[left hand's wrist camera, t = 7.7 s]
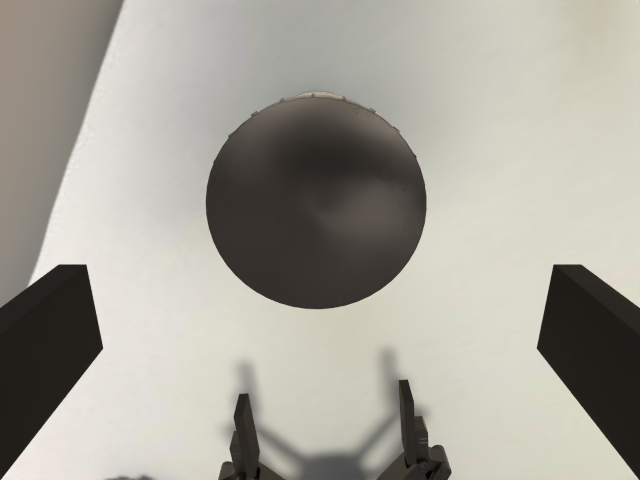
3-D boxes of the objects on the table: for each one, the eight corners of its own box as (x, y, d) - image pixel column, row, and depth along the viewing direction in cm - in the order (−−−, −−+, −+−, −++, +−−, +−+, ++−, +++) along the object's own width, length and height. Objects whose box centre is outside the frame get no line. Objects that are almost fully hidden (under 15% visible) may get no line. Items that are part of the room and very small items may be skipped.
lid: (400, 301, 25) (406, 320, 23) (210, 282, 24) (202, 300, 23) (438, 107, 21) (449, 110, 19) (216, 81, 21) (206, 82, 19)
